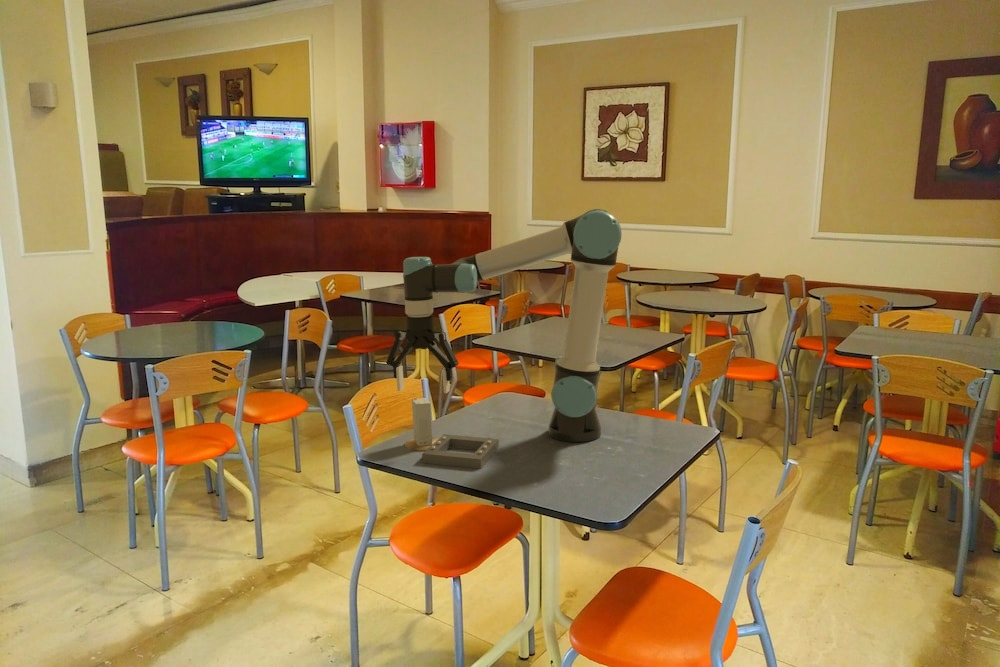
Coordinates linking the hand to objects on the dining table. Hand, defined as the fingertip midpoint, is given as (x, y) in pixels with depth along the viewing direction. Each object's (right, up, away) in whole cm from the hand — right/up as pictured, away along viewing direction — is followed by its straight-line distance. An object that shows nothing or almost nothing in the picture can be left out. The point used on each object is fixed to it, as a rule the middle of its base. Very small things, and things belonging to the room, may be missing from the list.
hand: (423, 390), depth 204 cm
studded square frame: (+11, -17, -5) cm, 21 cm away
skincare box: (0, -15, +3) cm, 15 cm away
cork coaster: (0, -15, +3) cm, 16 cm away
